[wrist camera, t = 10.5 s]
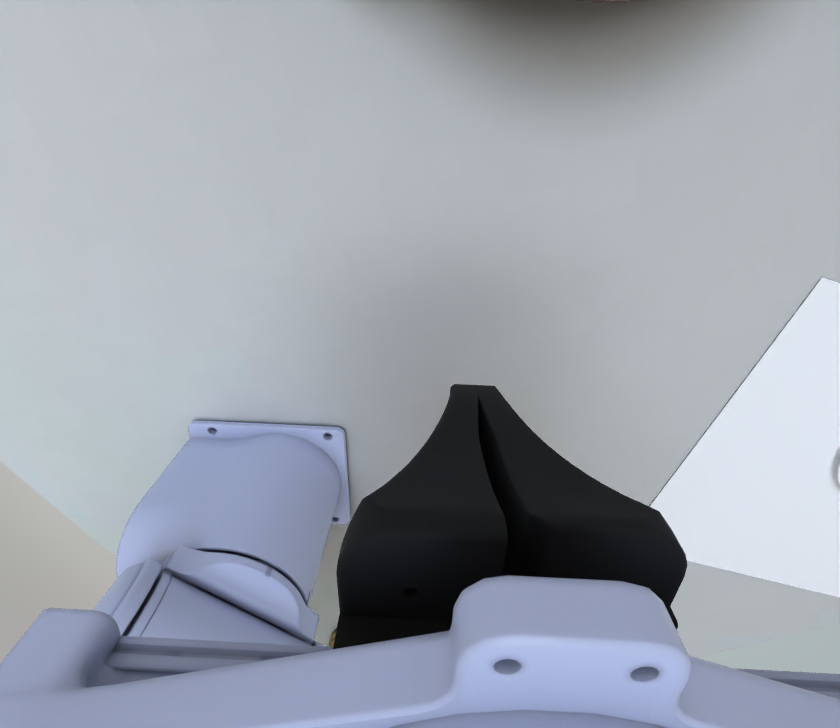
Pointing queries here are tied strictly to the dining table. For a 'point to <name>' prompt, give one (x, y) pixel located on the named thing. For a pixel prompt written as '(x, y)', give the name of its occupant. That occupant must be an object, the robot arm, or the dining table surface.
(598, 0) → the dish
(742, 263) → the dining table surface
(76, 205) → the dining table surface
